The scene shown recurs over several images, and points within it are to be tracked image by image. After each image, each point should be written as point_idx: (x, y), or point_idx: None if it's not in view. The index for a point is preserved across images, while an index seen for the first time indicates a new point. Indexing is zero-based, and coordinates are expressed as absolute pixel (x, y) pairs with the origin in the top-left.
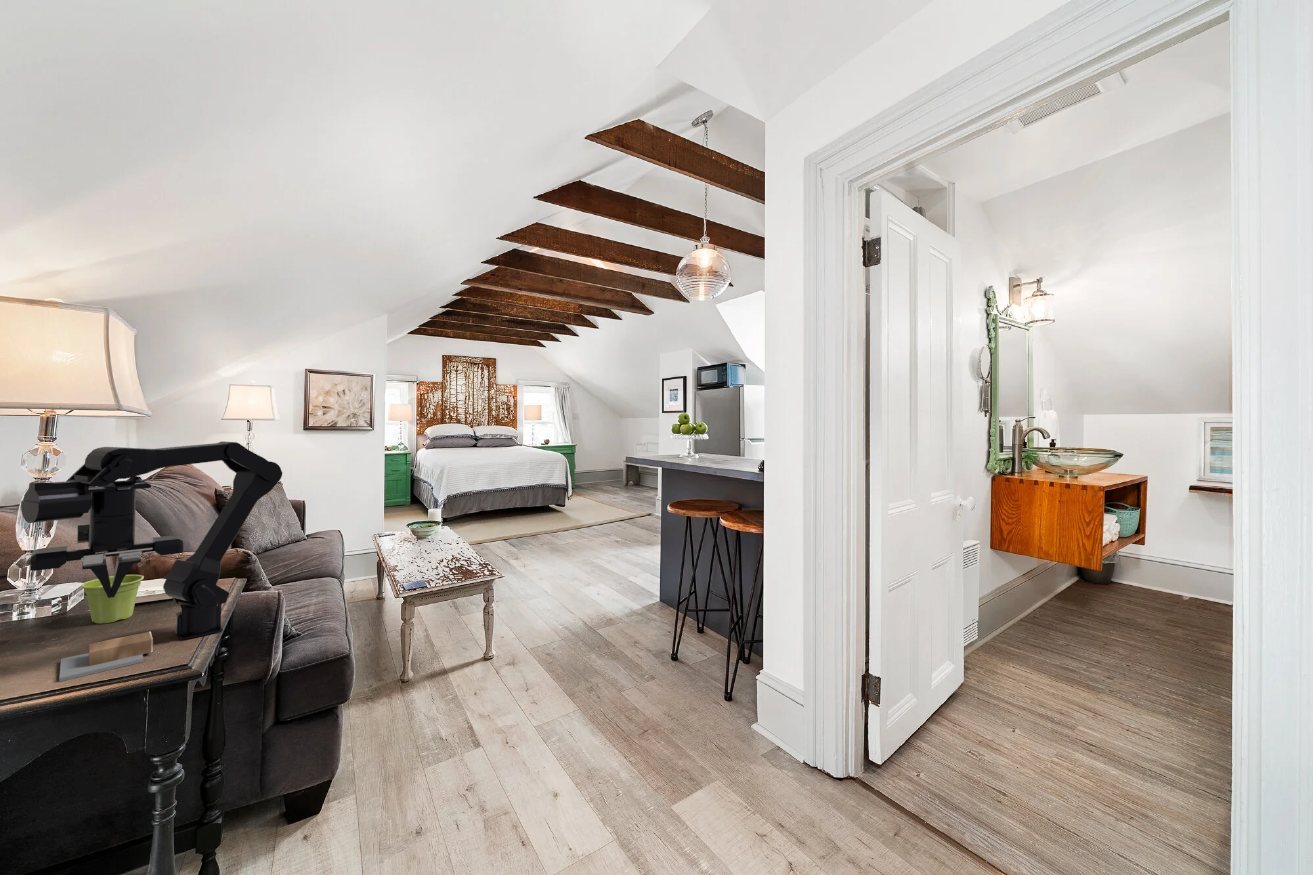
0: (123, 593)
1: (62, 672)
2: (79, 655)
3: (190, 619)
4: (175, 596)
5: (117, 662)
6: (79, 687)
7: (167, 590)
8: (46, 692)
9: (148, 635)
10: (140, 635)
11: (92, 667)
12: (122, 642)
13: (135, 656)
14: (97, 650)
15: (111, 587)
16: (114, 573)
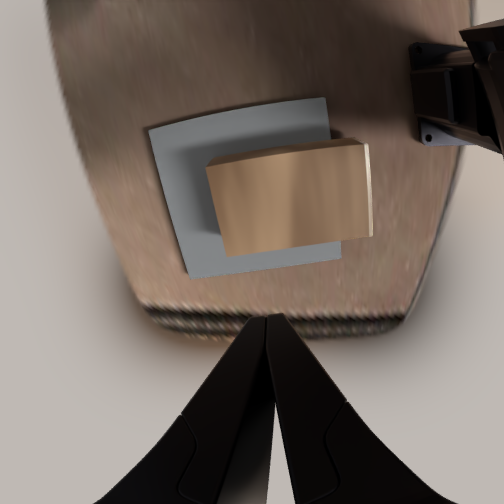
0: None
1: (184, 246)
2: (185, 127)
3: (469, 137)
4: (501, 144)
5: (289, 249)
6: (238, 325)
7: (500, 106)
8: (189, 316)
9: (363, 189)
10: (342, 171)
11: None
12: (298, 216)
13: None
14: (243, 252)
15: (266, 356)
16: (288, 464)
